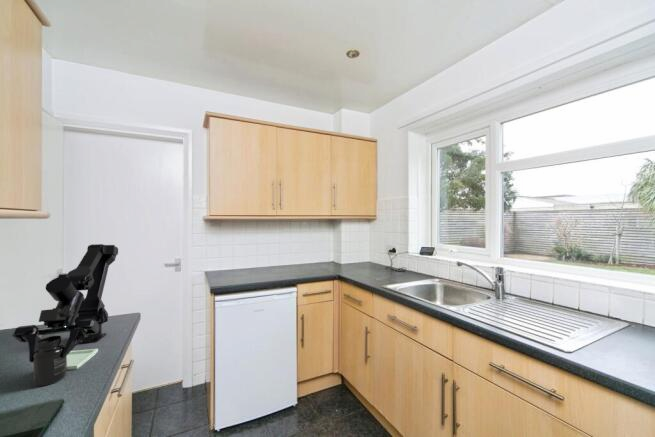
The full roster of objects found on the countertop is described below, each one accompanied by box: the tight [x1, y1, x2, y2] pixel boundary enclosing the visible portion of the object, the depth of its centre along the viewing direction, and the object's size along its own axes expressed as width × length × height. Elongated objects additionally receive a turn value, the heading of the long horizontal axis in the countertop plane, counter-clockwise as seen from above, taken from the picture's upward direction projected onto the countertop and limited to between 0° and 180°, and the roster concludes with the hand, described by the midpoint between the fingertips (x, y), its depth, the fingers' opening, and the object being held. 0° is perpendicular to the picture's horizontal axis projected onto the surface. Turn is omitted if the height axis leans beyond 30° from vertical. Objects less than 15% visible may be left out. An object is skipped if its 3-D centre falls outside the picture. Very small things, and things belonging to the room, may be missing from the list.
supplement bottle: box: [32, 335, 68, 387], centre depth 79 cm, size 7×7×12 cm
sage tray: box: [67, 348, 99, 371], centre depth 88 cm, size 11×11×1 cm
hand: (47, 359), depth 78 cm, fingers closed on supplement bottle, 7 cm apart
